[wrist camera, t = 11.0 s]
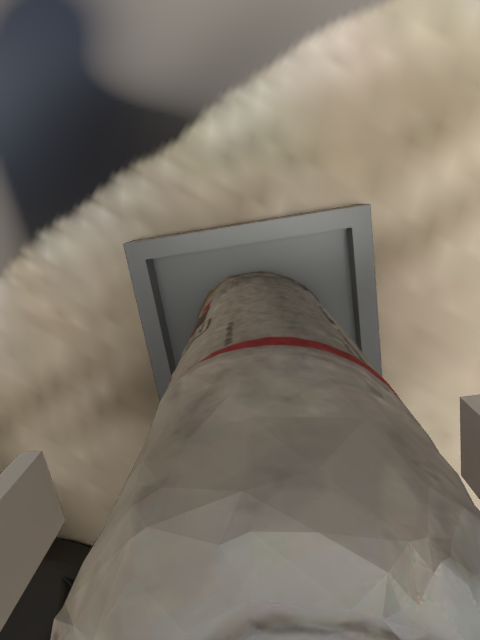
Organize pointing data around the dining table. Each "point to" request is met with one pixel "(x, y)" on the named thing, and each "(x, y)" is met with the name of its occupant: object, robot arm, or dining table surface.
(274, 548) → the spray can
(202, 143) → the dining table surface
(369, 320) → the tray
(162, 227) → the dining table surface
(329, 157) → the dining table surface
